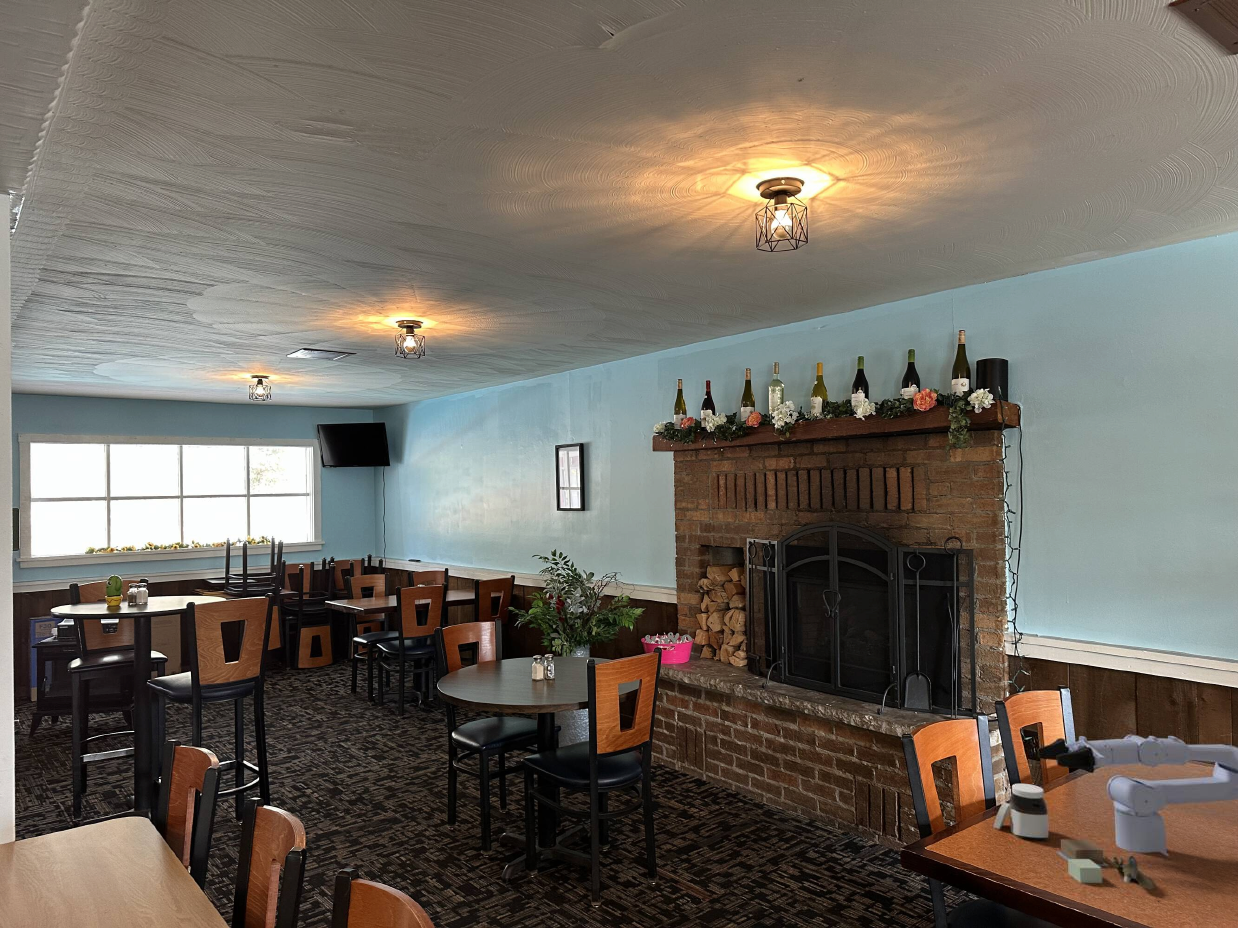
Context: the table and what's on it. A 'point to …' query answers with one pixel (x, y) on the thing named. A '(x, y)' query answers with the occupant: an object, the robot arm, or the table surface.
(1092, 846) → the walnut block
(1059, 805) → the table surface
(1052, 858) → the table surface
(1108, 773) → the table surface
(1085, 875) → the green block
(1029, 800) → the spread jar
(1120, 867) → the eagle figurine
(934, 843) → the table surface
